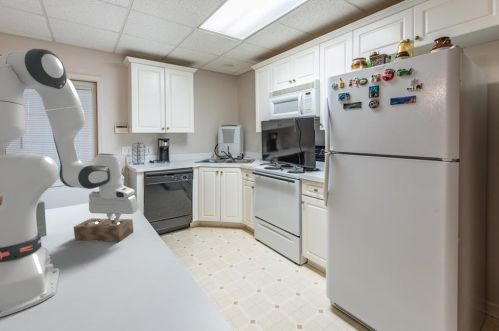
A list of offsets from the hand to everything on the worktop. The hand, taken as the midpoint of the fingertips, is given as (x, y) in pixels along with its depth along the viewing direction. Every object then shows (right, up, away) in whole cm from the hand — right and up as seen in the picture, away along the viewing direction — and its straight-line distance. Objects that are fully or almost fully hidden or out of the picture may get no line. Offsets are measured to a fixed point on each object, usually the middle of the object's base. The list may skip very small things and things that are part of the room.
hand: (114, 223), depth 108 cm
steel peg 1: (-10, -6, +2) cm, 12 cm away
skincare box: (-37, -7, +3) cm, 37 cm away
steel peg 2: (0, -6, +1) cm, 6 cm away
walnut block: (-5, -6, +1) cm, 8 cm away
